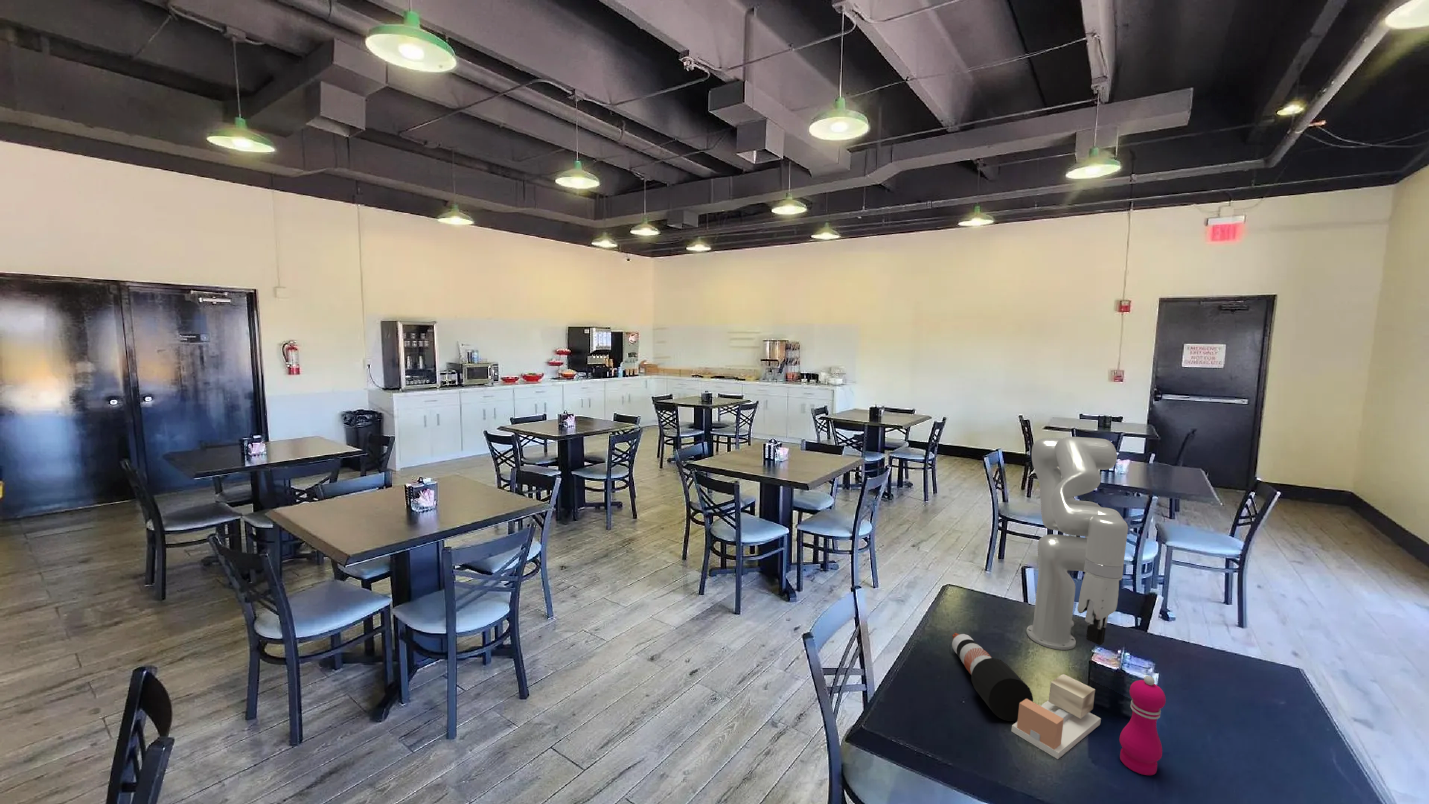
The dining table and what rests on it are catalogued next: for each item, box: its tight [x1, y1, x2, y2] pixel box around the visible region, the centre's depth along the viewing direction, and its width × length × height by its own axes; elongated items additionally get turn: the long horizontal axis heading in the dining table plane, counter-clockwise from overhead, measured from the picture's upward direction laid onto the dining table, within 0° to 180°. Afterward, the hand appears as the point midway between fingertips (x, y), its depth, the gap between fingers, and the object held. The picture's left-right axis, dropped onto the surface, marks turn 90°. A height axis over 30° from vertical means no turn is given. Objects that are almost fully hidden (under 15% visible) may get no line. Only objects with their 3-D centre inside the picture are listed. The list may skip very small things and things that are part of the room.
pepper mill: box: [1118, 675, 1167, 776], centre depth 120 cm, size 7×7×20 cm
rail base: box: [1011, 699, 1102, 760], centre depth 131 cm, size 20×10×8 cm, turn 124°
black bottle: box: [951, 632, 1034, 722], centre depth 149 cm, size 10×34×10 cm, turn 176°
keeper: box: [1048, 673, 1096, 719], centre depth 135 cm, size 6×7×5 cm
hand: (1095, 641), depth 138 cm, fingers closed
